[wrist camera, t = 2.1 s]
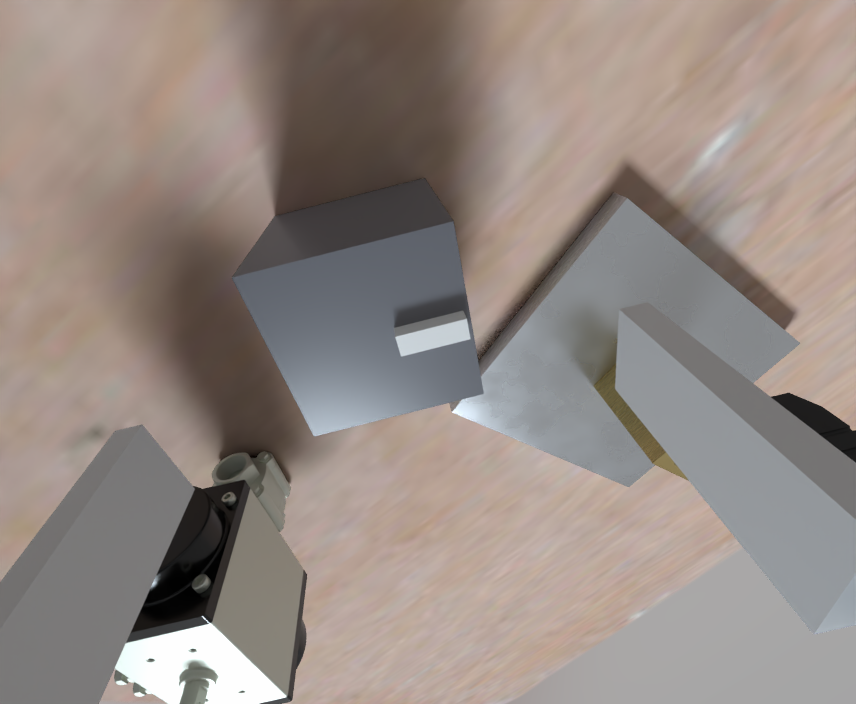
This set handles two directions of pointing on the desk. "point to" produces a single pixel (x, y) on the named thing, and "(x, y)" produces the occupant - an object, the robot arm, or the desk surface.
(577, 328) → the grey peg base
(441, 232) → the grey cabinet with handle
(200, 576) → the pneumatic valve
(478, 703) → the desk surface
